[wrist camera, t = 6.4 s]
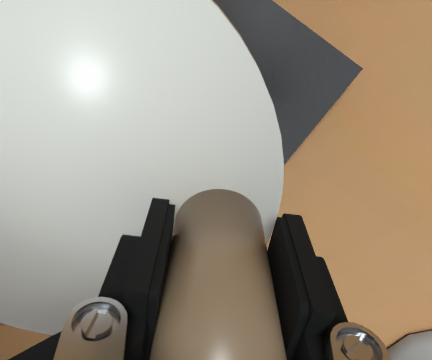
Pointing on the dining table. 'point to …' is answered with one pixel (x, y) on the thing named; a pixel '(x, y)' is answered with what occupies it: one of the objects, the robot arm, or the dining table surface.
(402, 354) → the flask
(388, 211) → the dining table surface
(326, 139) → the dining table surface
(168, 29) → the white piece
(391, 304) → the dining table surface
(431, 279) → the dining table surface
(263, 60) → the mount
